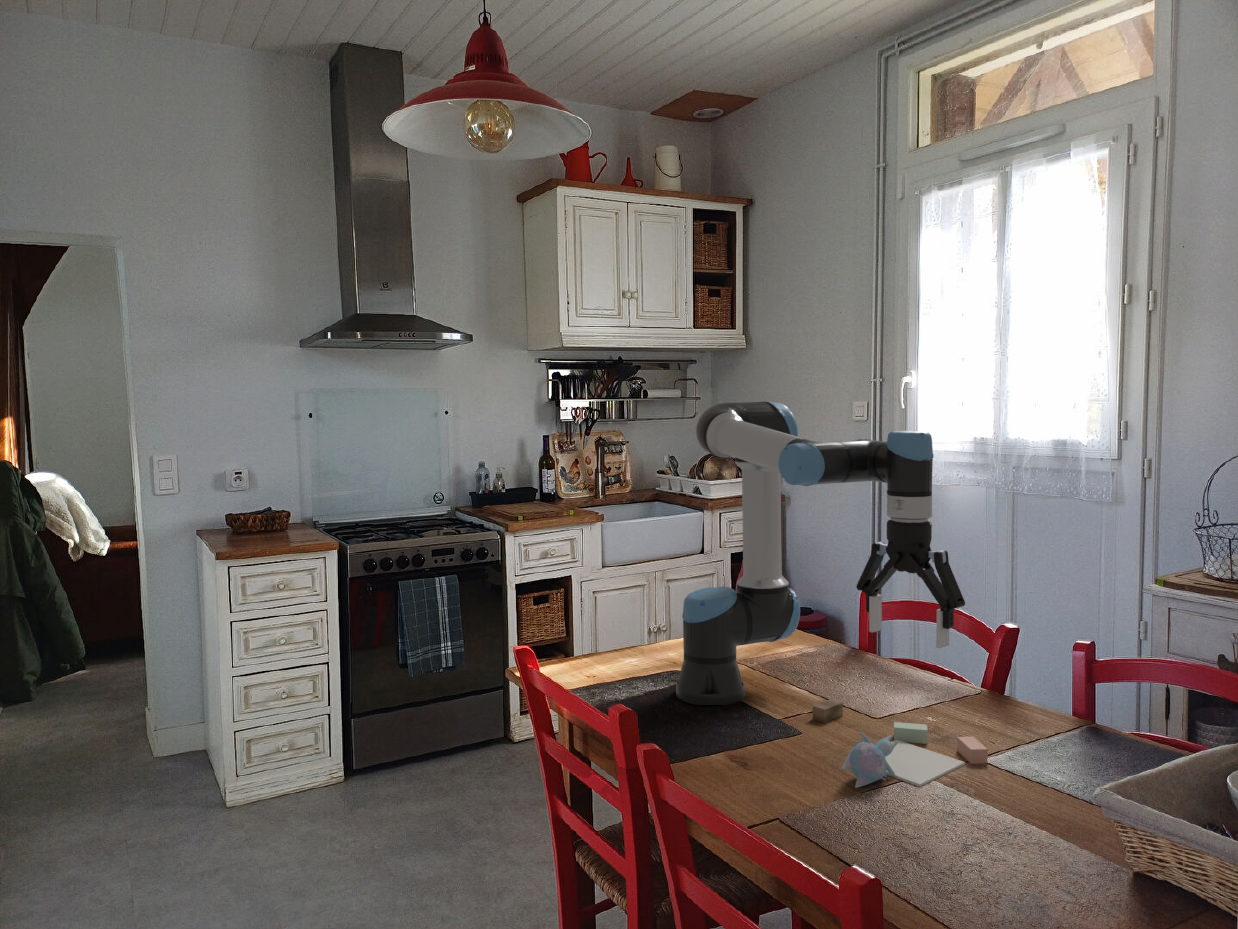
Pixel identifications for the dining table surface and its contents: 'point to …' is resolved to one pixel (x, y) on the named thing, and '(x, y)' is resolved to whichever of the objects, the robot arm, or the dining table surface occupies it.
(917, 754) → the tile
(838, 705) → the brick
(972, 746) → the brick
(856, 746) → the toy
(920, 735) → the brick
